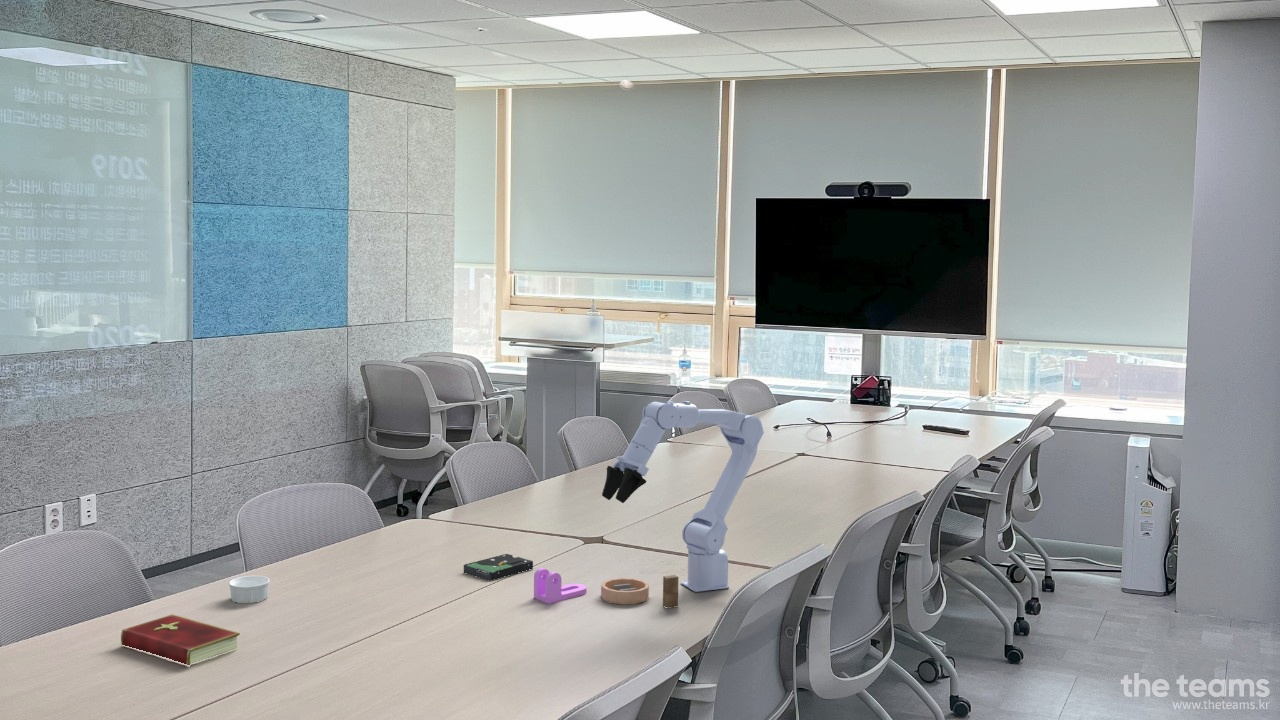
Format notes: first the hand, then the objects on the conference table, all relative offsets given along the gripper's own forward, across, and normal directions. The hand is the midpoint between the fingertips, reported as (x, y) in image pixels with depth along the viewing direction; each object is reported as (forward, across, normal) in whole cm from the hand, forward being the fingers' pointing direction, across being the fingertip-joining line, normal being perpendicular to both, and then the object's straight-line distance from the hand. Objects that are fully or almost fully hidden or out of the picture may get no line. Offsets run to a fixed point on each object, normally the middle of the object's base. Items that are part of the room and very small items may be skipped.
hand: (612, 499), depth 256 cm
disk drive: (+26, -39, 0) cm, 47 cm away
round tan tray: (+17, -6, +18) cm, 26 cm away
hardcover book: (+72, -11, -62) cm, 95 cm away
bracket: (+24, -14, +7) cm, 28 cm away
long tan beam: (+14, +4, +24) cm, 28 cm away
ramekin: (+60, -40, -50) cm, 87 cm away
